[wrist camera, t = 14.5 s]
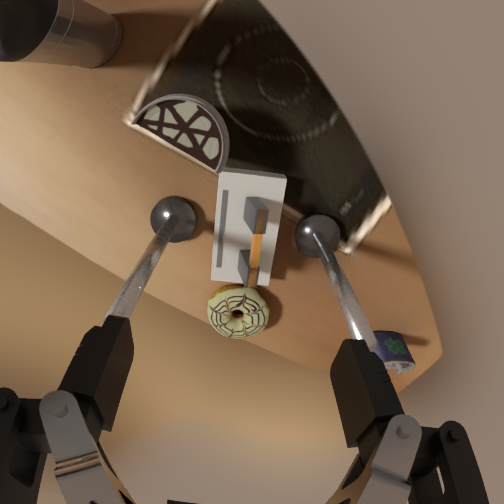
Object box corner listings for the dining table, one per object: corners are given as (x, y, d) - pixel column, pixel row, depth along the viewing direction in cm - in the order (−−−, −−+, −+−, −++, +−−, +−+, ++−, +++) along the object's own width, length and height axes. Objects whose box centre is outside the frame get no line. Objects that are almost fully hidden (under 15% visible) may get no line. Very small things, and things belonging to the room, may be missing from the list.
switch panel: (212, 270, 49) (210, 280, 46) (221, 166, 41) (219, 171, 38) (267, 275, 49) (268, 286, 46) (284, 174, 41) (287, 179, 39)
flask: (364, 338, 57) (380, 376, 47) (371, 328, 55) (388, 366, 46) (397, 342, 58) (415, 377, 48) (404, 332, 57) (423, 367, 47)
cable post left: (153, 236, 46) (88, 344, 24) (153, 194, 43) (71, 284, 21) (196, 240, 46) (156, 358, 24) (198, 197, 43) (148, 296, 21)
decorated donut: (252, 271, 49) (253, 284, 46) (277, 316, 54) (279, 330, 50) (198, 293, 51) (195, 306, 48) (226, 334, 56) (225, 348, 52)
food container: (250, 125, 38) (251, 130, 29) (226, 160, 40) (219, 176, 32) (176, 81, 35) (155, 74, 26) (154, 117, 37) (127, 122, 28)
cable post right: (290, 250, 47) (320, 372, 25) (298, 209, 44) (343, 315, 22) (332, 255, 48) (384, 370, 26) (342, 215, 44) (413, 317, 23)
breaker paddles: (237, 268, 44) (245, 288, 40) (245, 196, 39) (256, 209, 35) (247, 268, 45) (256, 287, 41) (257, 196, 40) (269, 209, 35)
